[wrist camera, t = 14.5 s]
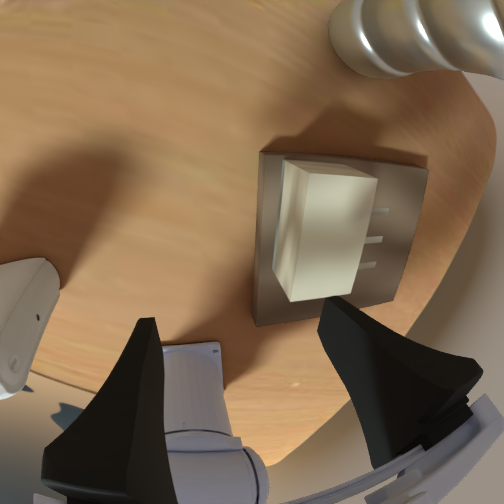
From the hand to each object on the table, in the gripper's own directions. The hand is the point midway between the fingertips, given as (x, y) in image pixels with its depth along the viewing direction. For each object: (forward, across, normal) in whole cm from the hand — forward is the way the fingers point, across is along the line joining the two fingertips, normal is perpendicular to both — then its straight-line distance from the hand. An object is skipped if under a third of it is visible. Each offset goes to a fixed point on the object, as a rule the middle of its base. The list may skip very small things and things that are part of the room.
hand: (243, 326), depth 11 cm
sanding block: (+8, -6, -1) cm, 11 cm away
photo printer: (+10, +18, +3) cm, 21 cm away
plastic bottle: (+10, -10, -15) cm, 21 cm away
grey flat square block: (+10, -10, +2) cm, 15 cm away
